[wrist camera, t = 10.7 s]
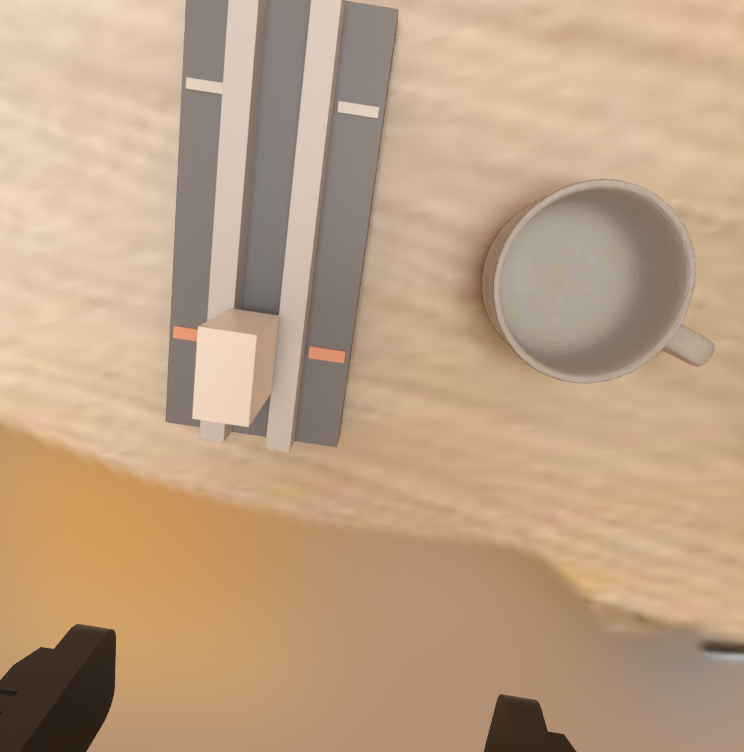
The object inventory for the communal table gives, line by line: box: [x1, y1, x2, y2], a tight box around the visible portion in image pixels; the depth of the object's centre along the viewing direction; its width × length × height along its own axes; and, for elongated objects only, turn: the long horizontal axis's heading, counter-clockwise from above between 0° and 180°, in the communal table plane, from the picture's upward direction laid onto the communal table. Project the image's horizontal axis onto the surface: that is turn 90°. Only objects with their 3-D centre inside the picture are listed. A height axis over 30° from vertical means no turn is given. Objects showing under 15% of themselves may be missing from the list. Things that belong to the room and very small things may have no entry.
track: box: [166, 0, 398, 452], centre depth 35 cm, size 12×27×4 cm, turn 172°
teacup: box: [482, 179, 714, 383], centre depth 34 cm, size 14×11×8 cm
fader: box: [192, 308, 279, 427], centre depth 33 cm, size 3×5×8 cm, turn 172°
